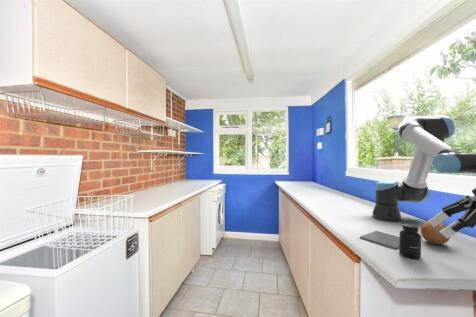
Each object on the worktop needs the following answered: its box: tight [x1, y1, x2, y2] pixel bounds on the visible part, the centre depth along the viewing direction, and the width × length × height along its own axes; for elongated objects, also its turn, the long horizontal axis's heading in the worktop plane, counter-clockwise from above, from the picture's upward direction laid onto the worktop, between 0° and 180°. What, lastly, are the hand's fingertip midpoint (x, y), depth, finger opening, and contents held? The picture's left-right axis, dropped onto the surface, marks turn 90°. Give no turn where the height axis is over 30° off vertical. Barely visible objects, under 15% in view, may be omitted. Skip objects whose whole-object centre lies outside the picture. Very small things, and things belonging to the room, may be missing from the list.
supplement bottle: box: [398, 223, 422, 260], centre depth 86 cm, size 7×7×12 cm
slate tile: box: [359, 230, 399, 250], centre depth 102 cm, size 15×15×1 cm
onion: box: [420, 221, 451, 245], centre depth 97 cm, size 10×10×10 cm
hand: (436, 229), depth 81 cm, fingers open, 13 cm apart
